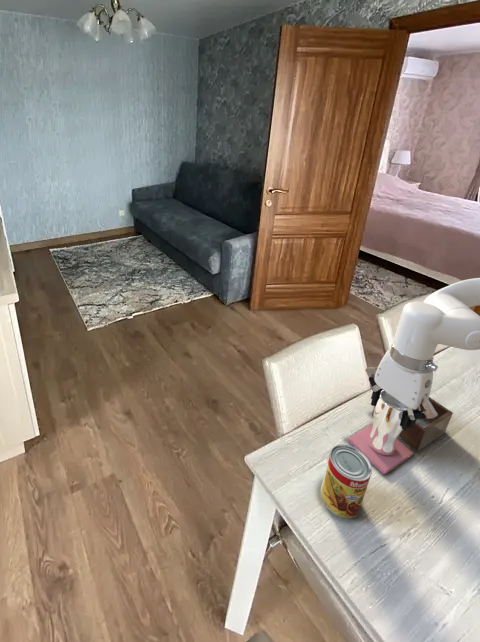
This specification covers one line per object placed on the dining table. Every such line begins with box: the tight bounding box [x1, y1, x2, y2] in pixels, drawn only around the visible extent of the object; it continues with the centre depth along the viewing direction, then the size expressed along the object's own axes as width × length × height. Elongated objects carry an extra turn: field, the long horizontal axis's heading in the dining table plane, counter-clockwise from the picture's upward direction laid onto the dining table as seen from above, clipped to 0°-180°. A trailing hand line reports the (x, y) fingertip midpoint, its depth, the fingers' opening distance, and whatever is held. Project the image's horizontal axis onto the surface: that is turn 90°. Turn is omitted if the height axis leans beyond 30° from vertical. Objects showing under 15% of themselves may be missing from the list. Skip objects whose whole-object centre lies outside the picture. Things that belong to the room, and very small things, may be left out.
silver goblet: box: [368, 390, 408, 455], centre depth 84 cm, size 7×7×15 cm
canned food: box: [320, 443, 373, 519], centre depth 73 cm, size 8×8×12 cm
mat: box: [347, 423, 414, 476], centre depth 87 cm, size 11×10×1 cm
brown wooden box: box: [371, 396, 454, 452], centre depth 93 cm, size 12×12×7 cm
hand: (390, 414), depth 83 cm, fingers closed on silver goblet, 7 cm apart
